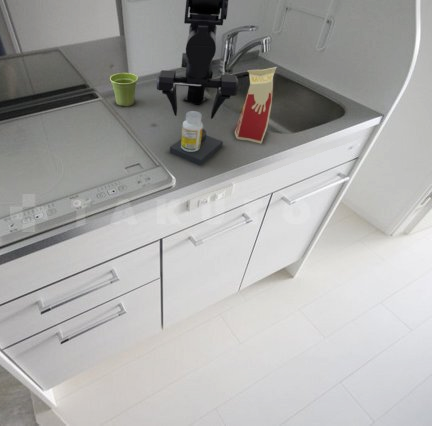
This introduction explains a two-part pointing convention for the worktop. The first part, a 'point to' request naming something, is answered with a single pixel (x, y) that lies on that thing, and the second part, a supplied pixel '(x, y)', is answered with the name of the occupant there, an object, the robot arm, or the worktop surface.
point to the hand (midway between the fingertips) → (193, 116)
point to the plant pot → (124, 88)
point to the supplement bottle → (192, 132)
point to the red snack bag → (256, 106)
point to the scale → (201, 155)
